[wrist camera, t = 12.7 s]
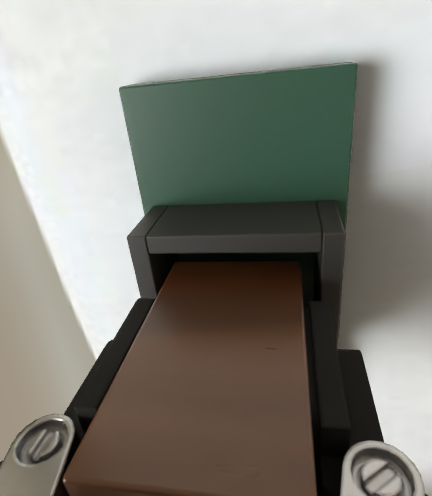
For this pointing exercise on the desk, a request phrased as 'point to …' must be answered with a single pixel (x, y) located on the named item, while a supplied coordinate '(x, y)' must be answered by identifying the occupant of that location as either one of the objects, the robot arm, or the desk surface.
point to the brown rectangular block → (208, 392)
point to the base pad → (244, 173)
